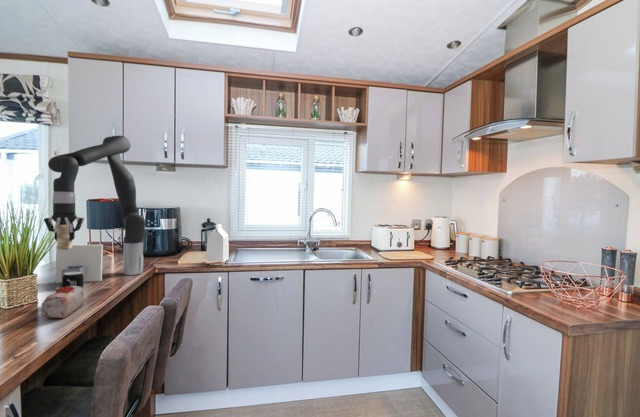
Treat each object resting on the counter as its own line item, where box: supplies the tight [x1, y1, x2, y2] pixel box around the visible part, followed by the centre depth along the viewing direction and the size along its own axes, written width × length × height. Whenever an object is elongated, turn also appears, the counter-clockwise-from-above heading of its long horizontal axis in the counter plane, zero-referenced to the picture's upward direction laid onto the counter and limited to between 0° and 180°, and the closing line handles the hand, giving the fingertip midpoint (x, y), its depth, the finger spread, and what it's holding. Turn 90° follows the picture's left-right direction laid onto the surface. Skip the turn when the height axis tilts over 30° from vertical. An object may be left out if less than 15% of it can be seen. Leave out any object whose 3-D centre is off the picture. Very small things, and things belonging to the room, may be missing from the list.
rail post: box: [56, 225, 73, 250], centre depth 131 cm, size 4×4×11 cm
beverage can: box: [61, 271, 84, 289], centre depth 119 cm, size 7×7×12 cm
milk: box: [205, 224, 230, 262], centre depth 199 cm, size 12×12×26 cm
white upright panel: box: [54, 244, 104, 284], centre depth 141 cm, size 18×11×18 cm, turn 111°
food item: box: [41, 286, 85, 319], centre depth 108 cm, size 14×8×10 cm, turn 15°
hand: (64, 240), depth 132 cm, fingers closed on rail post, 4 cm apart
